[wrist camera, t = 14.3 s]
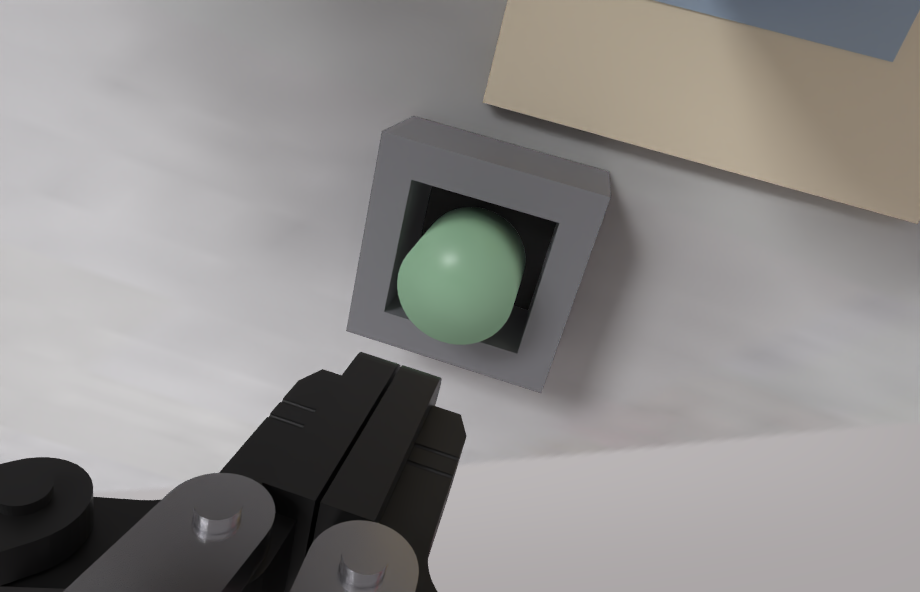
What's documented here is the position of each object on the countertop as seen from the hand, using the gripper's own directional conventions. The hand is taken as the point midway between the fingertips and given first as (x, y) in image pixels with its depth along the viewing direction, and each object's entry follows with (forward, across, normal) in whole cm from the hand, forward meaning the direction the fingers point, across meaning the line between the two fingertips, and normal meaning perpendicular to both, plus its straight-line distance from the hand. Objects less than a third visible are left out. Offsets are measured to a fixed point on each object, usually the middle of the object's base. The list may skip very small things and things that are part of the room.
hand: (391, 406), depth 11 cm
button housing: (+10, 0, 0) cm, 10 cm away
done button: (+8, 0, 0) cm, 8 cm away
